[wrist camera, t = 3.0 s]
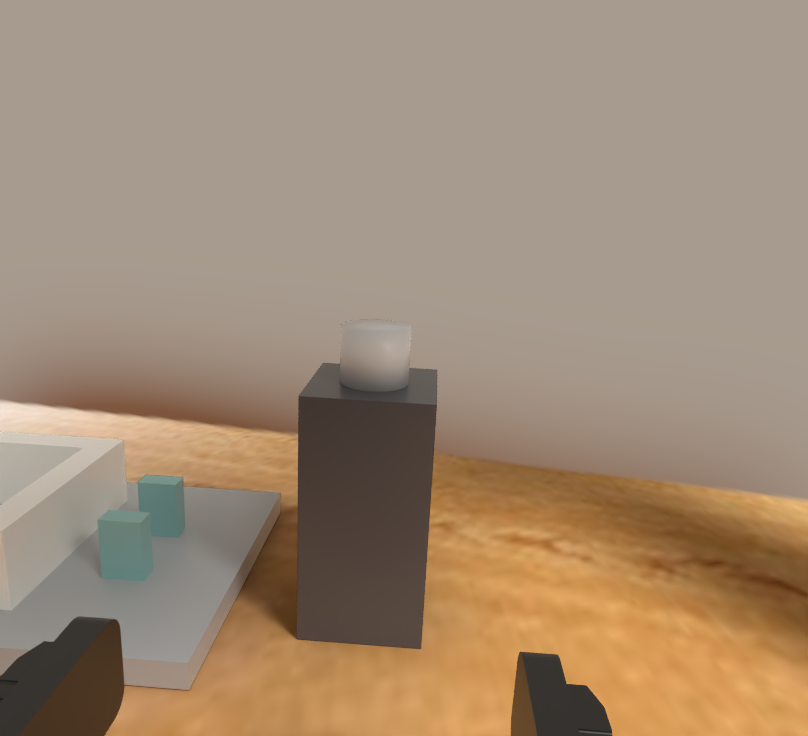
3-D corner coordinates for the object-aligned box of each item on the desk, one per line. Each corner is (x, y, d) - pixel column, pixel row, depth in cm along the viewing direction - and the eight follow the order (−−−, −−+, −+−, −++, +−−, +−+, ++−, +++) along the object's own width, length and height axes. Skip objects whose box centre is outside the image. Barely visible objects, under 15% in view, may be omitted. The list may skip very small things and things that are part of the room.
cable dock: (280, 511, 32) (280, 435, 31) (188, 689, 20) (184, 577, 19) (-34, 489, 32) (-44, 414, 31) (-298, 650, 21) (-328, 538, 20)
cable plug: (423, 577, 27) (440, 318, 24) (420, 648, 23) (440, 342, 20) (319, 570, 27) (324, 311, 24) (296, 639, 23) (299, 334, 20)
